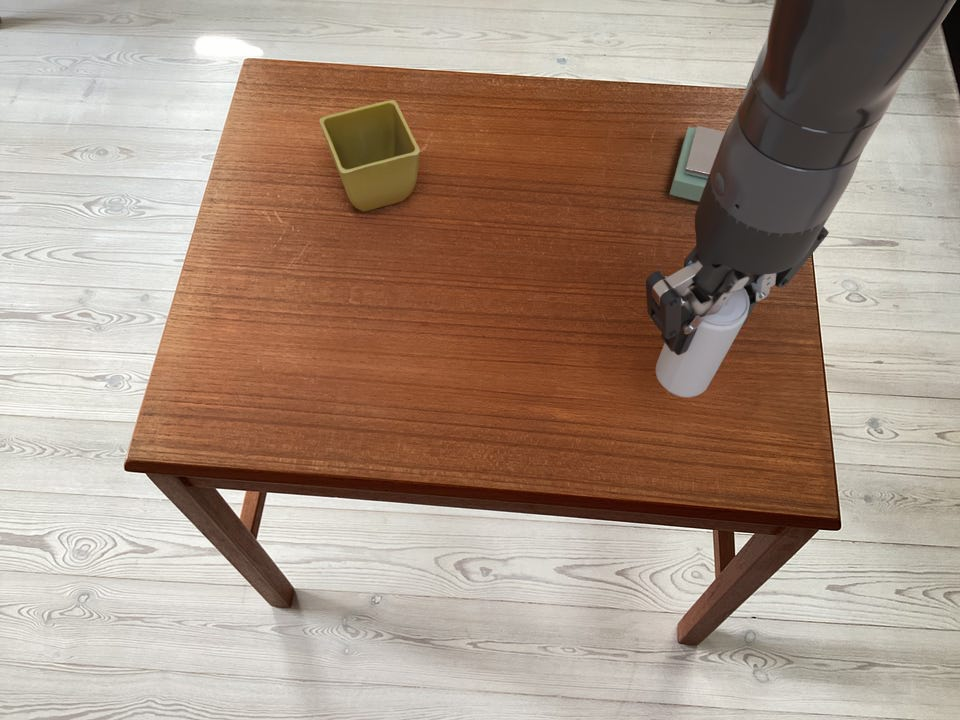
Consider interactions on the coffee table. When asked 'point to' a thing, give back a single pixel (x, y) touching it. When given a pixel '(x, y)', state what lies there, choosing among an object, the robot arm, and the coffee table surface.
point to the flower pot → (373, 154)
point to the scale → (684, 182)
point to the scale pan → (703, 151)
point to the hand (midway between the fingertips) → (703, 331)
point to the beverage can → (703, 349)
